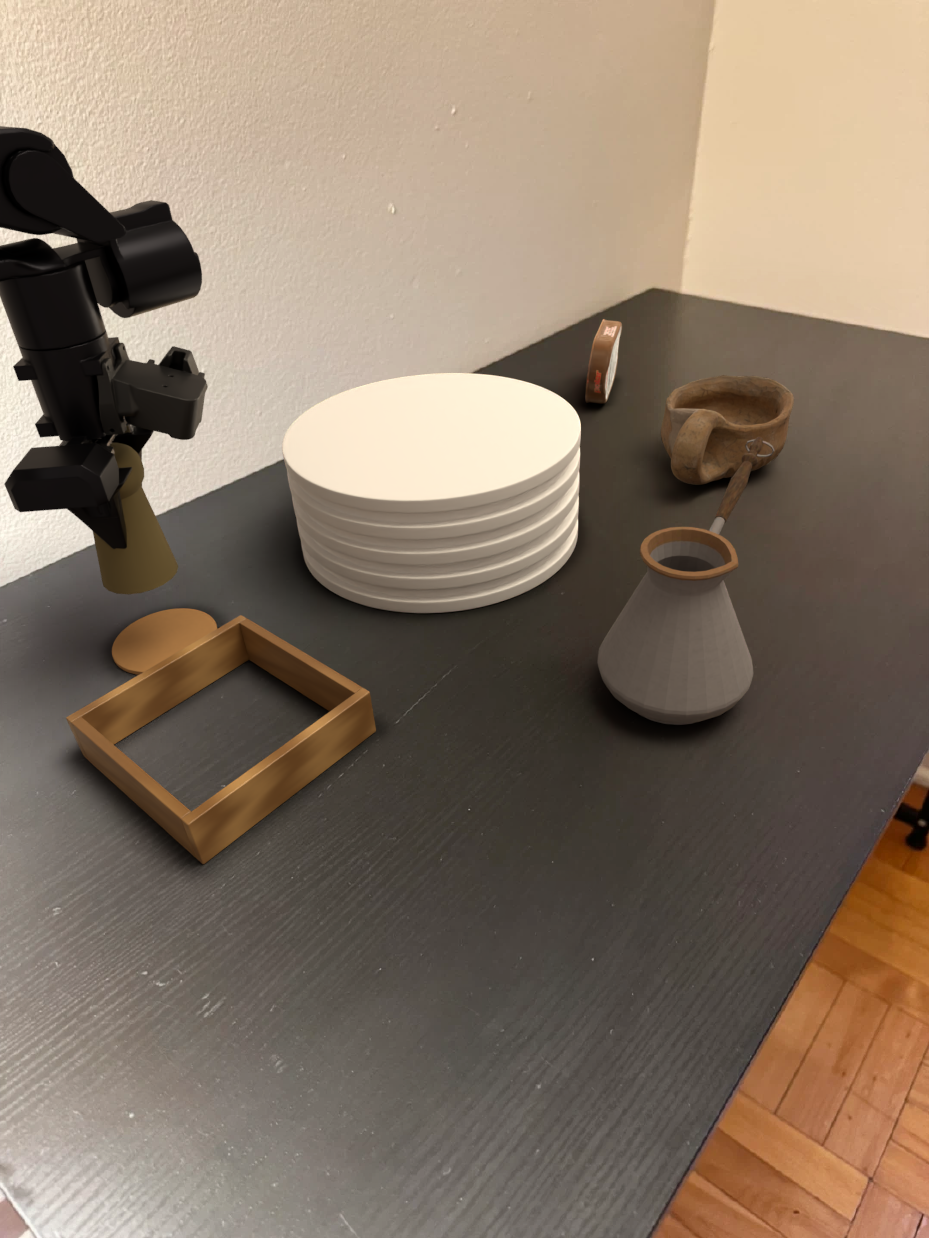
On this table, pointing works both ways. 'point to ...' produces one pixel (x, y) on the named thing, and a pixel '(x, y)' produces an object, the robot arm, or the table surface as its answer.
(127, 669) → the coaster
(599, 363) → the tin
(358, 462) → the plate stack
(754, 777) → the table surface
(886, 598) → the table surface
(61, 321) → the robot arm
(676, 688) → the coffee pot
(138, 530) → the pepper shaker
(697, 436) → the brown clay mug
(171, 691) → the wooden frame
